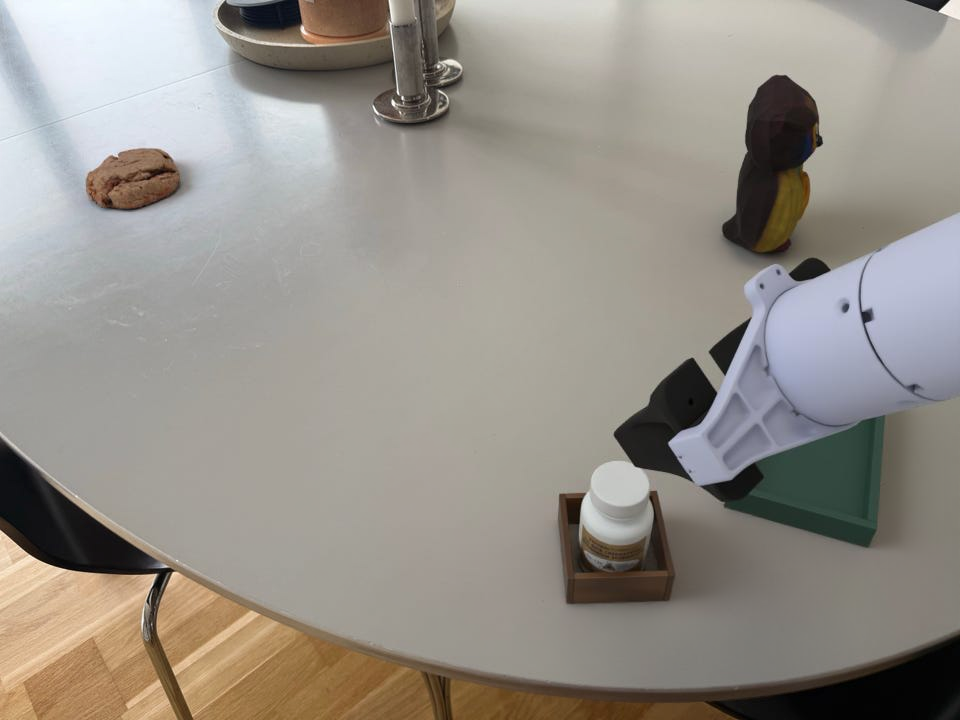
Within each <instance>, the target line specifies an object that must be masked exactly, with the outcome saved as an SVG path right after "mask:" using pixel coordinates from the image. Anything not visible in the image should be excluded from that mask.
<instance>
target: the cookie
mask: <svg viewBox="0 0 960 720" xmlns="http://www.w3.org/2000/svg"><path fill="white" fill-rule="evenodd" d="M178 170H179V169H178V167H177V165H176V163H175V161H174V159H173V158H172V157H171V156H170V154H169V153H167V152H166V151H165V150H162V149H161V148H152V147H151V148H150V147H139V148H133V149H132V148H131V149H128V150H123V151H119V152H118V153H117V156H114V155H113V154H111V155H108V156H107V157H106V158H105V159H103V161H102V162H101V163H100V165H99V166H97V167H96V168H94V169H93V170H91V171H89V172H88V173H87V174H86V178H85V192H86V194H87V196H88V198H89V200H90V201H91V202H93V203H95V205H98V206H99V207H100V209H106V208H113V209H114V208H116V209H118V210H123V209H126V210H130V209H131V210H132V209H137V208H142V207H143V206H148V205H150V204H152V203H155V202H158V201H159V200H162V199H164V198H168V197H169V196H170V195H173V192H175V191H176V190H177V188H178V187H179V182H180V176H181V175H180V172H179V171H178Z"/></svg>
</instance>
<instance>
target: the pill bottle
mask: <svg viewBox="0 0 960 720" xmlns="http://www.w3.org/2000/svg"><path fill="white" fill-rule="evenodd" d="M650 491H651V482H650V479H649V476H648V475H647V473H646V472H645V471H644V469H642V468H637V467H635V466H634V465H633V463H632V462H630V461H625V460H612V461H608V462H605V463H602V464H601V465H599V466H598V467H597V468H596V469H595V470H594V471H593V473H592V476H591V478H590V485H589V489H588V491H586V493H587V494H586V495H585V497H584V499H583V501H582V505H581V514H580V523H579V527H578V540H577V551H576V552H577V560H578V563H579V565H580V567H581V569H582V571H583V573H598V572H632V571H644V569H645V567H646V563H647V557H648V551H649V547H650V541H651V530H652V525H653V518H654V511H653V507H652V504H651V501H650V500H649V494H650Z"/></svg>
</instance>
